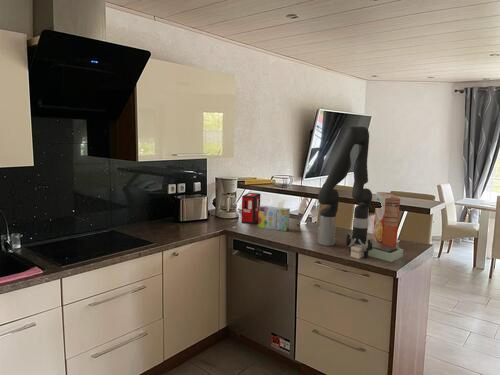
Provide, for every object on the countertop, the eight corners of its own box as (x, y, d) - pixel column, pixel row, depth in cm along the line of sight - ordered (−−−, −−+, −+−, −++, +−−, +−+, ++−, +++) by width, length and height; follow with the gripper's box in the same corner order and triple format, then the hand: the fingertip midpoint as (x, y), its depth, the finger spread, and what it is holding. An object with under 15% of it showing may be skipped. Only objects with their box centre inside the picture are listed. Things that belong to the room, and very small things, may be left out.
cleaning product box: (248, 218, 289) (249, 192, 286) (259, 219, 286) (260, 193, 284) (241, 223, 273) (242, 195, 271) (253, 224, 271) (254, 196, 268)
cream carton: (350, 257, 203) (350, 246, 202) (357, 255, 208) (358, 244, 207) (358, 260, 199) (359, 249, 198) (365, 257, 204) (366, 246, 203)
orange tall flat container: (373, 238, 242) (376, 192, 238) (386, 239, 241) (389, 192, 237) (381, 249, 219) (385, 198, 215) (395, 250, 218) (400, 198, 214)
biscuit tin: (367, 254, 207) (367, 245, 206) (375, 250, 213) (376, 242, 212) (388, 259, 198) (389, 250, 197) (396, 256, 204) (397, 247, 203)
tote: (359, 254, 208) (360, 245, 207) (372, 250, 217) (372, 241, 216) (390, 263, 195) (391, 254, 194) (402, 258, 204) (403, 249, 203)
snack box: (289, 229, 258) (290, 208, 256) (286, 231, 253) (287, 209, 251) (261, 225, 268) (261, 204, 266) (257, 227, 263) (258, 206, 261)
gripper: (344, 224, 203) (342, 253, 206) (368, 229, 193) (366, 260, 195) (352, 222, 209) (350, 250, 211) (376, 227, 198) (373, 257, 200)
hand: (358, 255), depth 203 cm, fingers open, 8 cm apart
